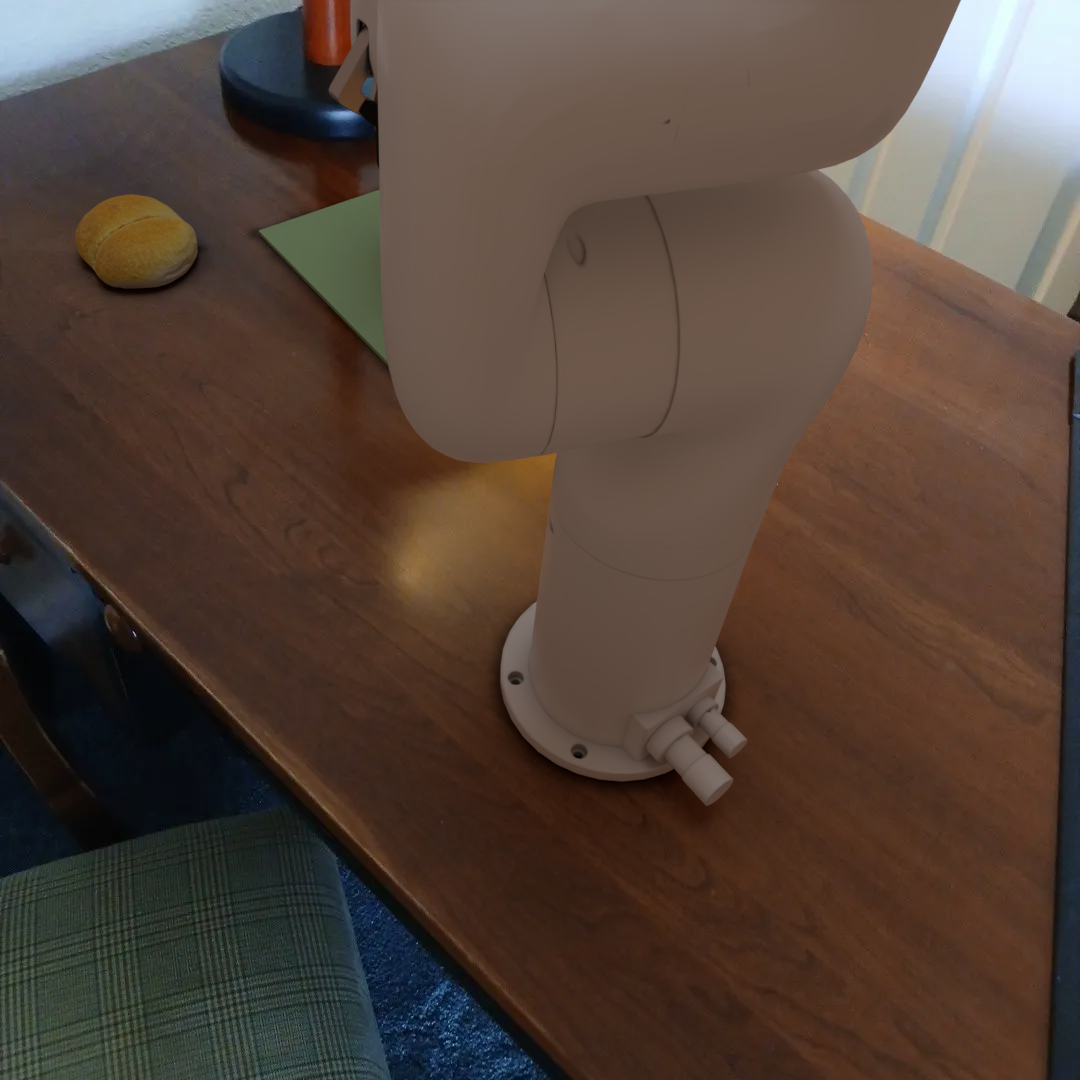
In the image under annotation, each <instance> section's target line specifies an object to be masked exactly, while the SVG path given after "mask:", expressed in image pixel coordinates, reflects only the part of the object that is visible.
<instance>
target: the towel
mask: <svg viewBox="0 0 1080 1080" xmlns="http://www.w3.org/2000/svg"><path fill="white" fill-rule="evenodd" d="M258 235H259V236H260V238H262V239H263V241H265V242H266V243H267V244H268V245H269V246H270V247H271V248H272V249H273V250H274V251H275V253H277V255H279V256H280V258H281V259H282V260H283V261H284V262H285V263H286V264H287V265H288V266H289V267H290V268H291V269H292V270H293V271H294V272H295V273H296V274H297V275H298V276H299V277H300V278H301V279H302V280H303V281H304V282H305V283H306V284H307V285H308V286H309V287H310V288H311V289H312V290H313V291H314V292H315V294H316V295H318V296H319V298H321V299H322V301H323V302H325V303H326V304H327V306H328V307H329V308H330V309H331V310H332V311H333V312H334V313H335V314H336V315H338V317H339V318H340V319H341V320H342V321H343V322H344V323H345V324H346V325H347V326H348V327H349V328H350V329H351V330H352V331H353V332H354V333H355V334H356V335H357V336H358V337H359V338H360V340H362V341H363V342H364V344H365V345H367V346H368V348H370V349H371V351H373V353H374V354H375V355H377V357H378V358H379V359H380V360H381V361H382V362H383V363H384V364H385V365H386V366H387V367H388V368H389V366H388V362H387V356H386V348H385V340H384V332H383V319H382V296H381V256H380V189H377V190H374V191H371V192H368V193H365V194H363V195H359V196H356V197H353V198H350V199H347V200H343V201H341V202H339V203H336V204H333V205H330V206H327V207H324V208H321V209H318V210H315V211H311V212H309V213H306V214H303V215H300V216H297V217H294V218H291V219H288V220H285V221H282V222H279V223H276V224H273V225H270V226H267V227H265V228H262V229H259V230H258Z"/></svg>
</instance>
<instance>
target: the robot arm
mask: <svg viewBox="0 0 1080 1080" xmlns="http://www.w3.org/2000/svg"><path fill="white" fill-rule="evenodd" d="M961 1H962V0H350V5H349V6H350V7H349V11H350V13H349V17H350V19H349V20H350V21H349V23H350V46H351V48H350V49H349V51H348V53H347V54H346V56H345V58H344V60H343V61H342V64H341V66H340V67H339V69H338V71H337V73H336V74H335V76H334V78H333V80H332V81H331V83H330V85H329V88H328V94H329V96H330V97H331V98H332V99H334V101H336V102H337V103H338V104H340V105H341V106H342V107H343V108H346V109H347V110H349V111H351V112H352V113H354V114H356V115H358V116H360V117H361V118H363V119H364V120H366V121H367V122H368V123H369V124H371V125H372V126H373V127H374V126H375V128H374V133H375V153H376V155H375V156H376V157H375V158H376V166H377V168H378V171H379V172H378V173H379V174H378V175H379V176H378V178H379V180H378V181H379V182H378V183H379V184H378V185H379V190H380V256H381V296H382V319H383V332H384V340H385V348H386V356H387V362H388V366H389V367H388V366H387V367H388V371H389V375H390V378H391V382H392V386H393V389H394V393H395V396H396V398H397V401H398V404H399V406H400V408H401V411H402V412H403V415H404V416H405V418H406V420H407V422H408V423H409V425H410V426H411V428H412V429H413V430H414V432H415V434H417V435H418V437H419V438H420V439H421V440H422V441H423V442H425V443H426V444H427V446H429V447H430V448H431V449H433V450H435V451H437V452H438V453H440V454H442V455H444V456H445V457H448V458H451V459H453V460H456V461H461V462H466V463H476V464H478V463H479V464H487V463H489V464H490V463H500V462H501V463H502V462H508V461H517V460H522V459H529V458H536V457H541V456H548V455H552V454H556V455H555V460H554V465H553V472H552V479H551V488H550V495H549V496H550V497H549V504H548V511H547V518H546V525H545V526H546V527H545V535H544V543H543V549H542V550H543V551H542V557H541V558H542V559H541V566H540V574H539V581H538V583H539V584H538V589H537V597H536V601H535V602H534V603H532V604H531V605H530V606H529V607H528V608H527V609H525V611H523V613H522V614H521V615H520V616H519V617H518V618H517V620H516V621H515V623H514V624H513V626H512V628H511V629H510V630H509V631H508V634H507V637H506V640H505V642H504V645H503V647H502V653H501V660H500V671H499V675H500V677H499V684H500V689H501V695H502V700H503V704H504V705H505V708H506V710H507V713H508V715H509V718H510V720H511V722H512V723H513V724H514V726H515V728H516V729H517V730H518V732H519V733H520V734H521V736H522V737H523V738H524V740H526V742H528V743H529V744H530V745H531V746H532V747H533V748H534V750H536V751H537V753H539V754H541V755H542V756H543V757H545V758H547V759H548V760H550V761H551V762H552V763H554V764H555V765H557V766H559V767H561V768H564V769H566V770H568V771H570V772H573V773H575V774H577V775H580V776H584V777H588V778H592V779H596V780H601V781H613V782H632V781H642V780H648V779H650V778H655V777H658V776H661V775H664V774H667V773H669V772H671V771H673V770H675V772H676V773H677V774H678V775H679V776H680V777H681V780H682V781H683V782H684V784H685V785H686V786H687V787H688V788H689V789H690V790H691V791H692V793H694V794H695V796H696V797H697V798H698V799H699V800H700V801H701V802H702V804H704V806H706V807H708V806H711V805H712V804H714V803H715V802H717V801H718V800H719V799H720V798H721V797H722V796H723V795H724V794H725V793H727V791H728V790H729V789H730V788H731V786H732V784H733V783H734V778H733V777H732V776H731V774H729V773H728V772H727V770H726V769H725V768H723V766H721V764H719V762H718V761H717V760H716V759H715V758H714V757H713V756H712V755H711V754H710V753H707V752H706V751H705V750H704V749H703V747H704V746H705V745H706V743H707V742H708V741H709V739H711V742H712V743H713V744H714V745H715V746H716V747H717V749H719V750H720V751H721V753H722V754H724V756H725V757H726V758H727V759H731V758H733V757H735V756H736V755H738V754H739V753H740V752H741V751H742V750H743V748H744V747H745V746H746V744H747V743H748V738H746V737H745V736H744V734H743V733H742V732H741V731H739V729H737V727H736V726H735V725H734V724H732V722H729V721H728V720H727V719H726V718H725V717H724V715H723V714H721V713H722V710H723V707H724V704H725V699H726V698H725V696H726V688H727V687H726V677H725V669H724V664H723V662H722V659H721V656H720V653H719V651H718V648H717V647H716V645H717V642H718V639H719V636H720V634H721V632H722V629H723V626H724V623H725V621H726V618H727V616H728V612H729V609H730V607H731V604H732V601H733V599H734V596H735V593H736V590H737V587H738V585H739V583H740V579H741V577H742V574H743V572H744V569H745V566H746V564H747V561H748V559H749V555H750V553H751V550H752V547H753V545H754V542H755V539H756V537H757V536H758V533H759V530H760V527H761V525H762V522H763V519H764V517H765V514H766V511H767V509H768V506H769V504H770V501H771V499H772V496H773V494H774V492H775V489H776V486H777V484H778V482H779V480H780V478H781V475H782V473H783V471H784V469H785V467H786V465H787V463H788V461H789V459H790V457H791V455H792V454H793V452H794V451H795V448H796V447H797V445H798V444H799V442H800V441H801V439H802V437H803V436H804V435H805V434H806V432H807V430H808V429H809V428H810V427H811V424H813V422H814V421H815V419H816V418H817V416H818V415H819V414H820V412H821V411H822V409H823V408H824V406H825V404H827V402H828V400H829V399H830V398H831V396H832V394H833V393H834V391H835V390H836V388H837V386H838V385H839V383H840V382H841V380H842V378H843V377H844V375H845V373H846V371H847V369H848V368H849V365H850V363H851V362H852V359H853V358H854V356H855V353H856V351H857V350H858V347H859V344H860V341H861V339H862V336H863V334H864V331H865V327H866V324H867V320H868V316H869V311H870V307H871V301H872V294H873V293H872V291H873V257H872V249H871V245H870V239H869V236H868V232H867V229H866V227H865V224H864V221H863V219H862V217H861V215H860V213H859V212H858V211H859V210H858V209H857V207H856V205H855V204H854V202H853V201H852V199H851V198H850V197H849V195H848V194H847V193H846V192H845V191H844V190H843V189H842V188H841V187H840V185H839V184H837V182H836V181H834V180H833V179H832V178H831V177H830V176H829V175H828V174H826V173H824V172H822V171H821V170H823V169H828V168H831V167H835V166H838V165H841V164H844V163H846V162H849V161H851V160H853V159H857V158H858V157H859V156H861V155H863V154H865V153H867V152H868V151H869V150H871V149H873V148H874V147H875V146H877V145H878V144H879V143H881V142H882V141H883V140H884V139H885V138H886V137H887V136H889V134H890V133H891V132H892V131H893V130H894V129H895V127H896V126H897V125H898V123H899V122H900V121H901V120H902V119H903V117H904V115H905V114H906V113H907V111H908V110H909V108H910V106H911V104H912V103H913V101H914V99H915V98H916V96H917V95H918V92H919V91H920V90H921V87H922V86H923V83H924V81H925V79H926V78H927V76H928V73H929V72H930V70H931V67H932V65H933V63H934V61H935V59H936V57H937V55H938V53H939V50H940V49H941V47H942V43H943V42H944V40H945V37H946V35H947V33H948V31H949V29H950V26H951V23H952V22H953V19H954V17H955V15H956V12H957V10H958V8H959V6H960V3H961ZM367 79H373V82H372V86H371V92H370V97H369V96H368V95H366V94H365V93H364V92H362V88H363V86H364V84H365V82H366V81H367ZM576 756H577V757H576ZM578 757H580V758H578Z"/></svg>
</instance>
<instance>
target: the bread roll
mask: <svg viewBox="0 0 1080 1080" xmlns="http://www.w3.org/2000/svg"><path fill="white" fill-rule="evenodd" d="M74 238H75V241H74V242H75V248H76V250H77V252H78V254H79V256H80V257H81V258H82V260H84V262H85V263H86V264H87V265H88V266H90V267H91V269H93V271H94V272H95V275H97V277H98V279H100V281H102V282H103V283H105V284H106V285H108V286H110V287H113V288H122V289H151V288H158V287H162V286H166V285H168V284H170V283H172V282H174V281H176V280H178V279H179V278H181V277H183V276H184V275H185V274H186V273H187V272H188V271H189V269H190V268H191V267H192V265H194V263H195V260H196V259H197V256H198V251H199V250H198V246H199V244H198V239H197V234H196V232H195V229H194V228H193V226H192V225H190V224H189V222H186V221H185V220H184V219H183V218H182V217H180V215H179V214H178V213H177V212H175V211H174V210H173V209H172V208H171V207H170V206H169V205H167V204H166V203H163V202H161V201H159V200H158V199H156V198H155V197H151V196H146V195H139V194H132V193H131V194H130V193H128V194H123V195H122V194H121V195H117V196H113V197H110V198H108V199H105V200H103V201H102V202H100V203H98V204H97V205H95V206H94V207H93V208H92V209H91V210H89V211H88V212H87V213H86V214H85V215H84V216H83V217H82V218H81V220H80V221H79V223H78V225H77V227H76V230H75V233H74Z"/></svg>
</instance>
